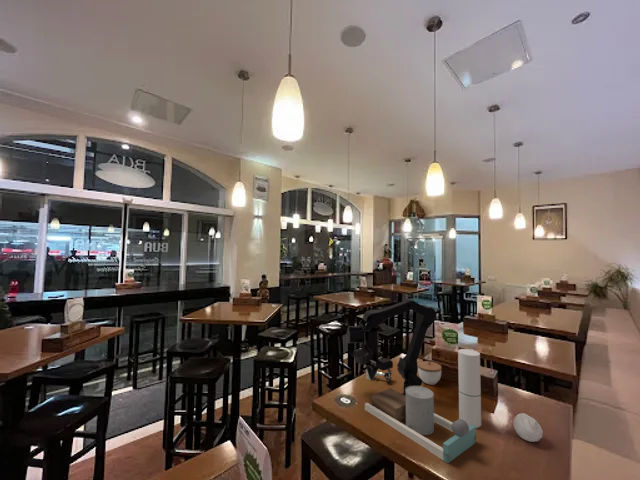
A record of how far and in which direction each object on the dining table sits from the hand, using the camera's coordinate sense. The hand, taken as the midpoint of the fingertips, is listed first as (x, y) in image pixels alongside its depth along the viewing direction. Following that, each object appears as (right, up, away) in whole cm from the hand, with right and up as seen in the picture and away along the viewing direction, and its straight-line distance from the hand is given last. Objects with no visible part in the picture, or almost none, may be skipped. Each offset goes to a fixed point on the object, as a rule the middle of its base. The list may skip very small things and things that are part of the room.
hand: (371, 379), depth 121 cm
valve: (+6, -9, +18) cm, 21 cm away
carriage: (+7, -8, -10) cm, 14 cm away
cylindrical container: (+33, -8, -16) cm, 38 cm away
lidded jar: (+31, -9, +17) cm, 36 cm away
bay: (+13, -7, -19) cm, 24 cm away
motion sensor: (+47, -8, -26) cm, 54 cm away
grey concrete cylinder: (+13, -8, -20) cm, 25 cm away
